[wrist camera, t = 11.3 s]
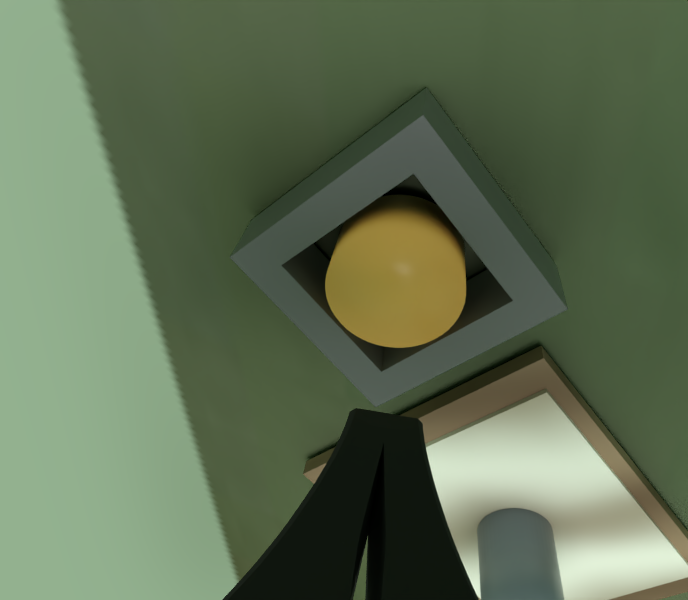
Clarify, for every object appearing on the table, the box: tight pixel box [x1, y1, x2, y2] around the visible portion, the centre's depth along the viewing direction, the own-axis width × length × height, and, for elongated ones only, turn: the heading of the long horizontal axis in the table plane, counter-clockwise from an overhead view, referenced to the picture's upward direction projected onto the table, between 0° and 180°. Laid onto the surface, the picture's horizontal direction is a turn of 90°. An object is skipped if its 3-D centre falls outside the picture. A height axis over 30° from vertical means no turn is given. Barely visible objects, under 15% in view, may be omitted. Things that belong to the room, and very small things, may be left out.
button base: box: [230, 87, 568, 407], centre depth 20 cm, size 7×7×2 cm
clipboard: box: [303, 346, 688, 600], centre depth 27 cm, size 14×11×1 cm
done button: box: [325, 195, 466, 348], centre depth 19 cm, size 4×4×2 cm
